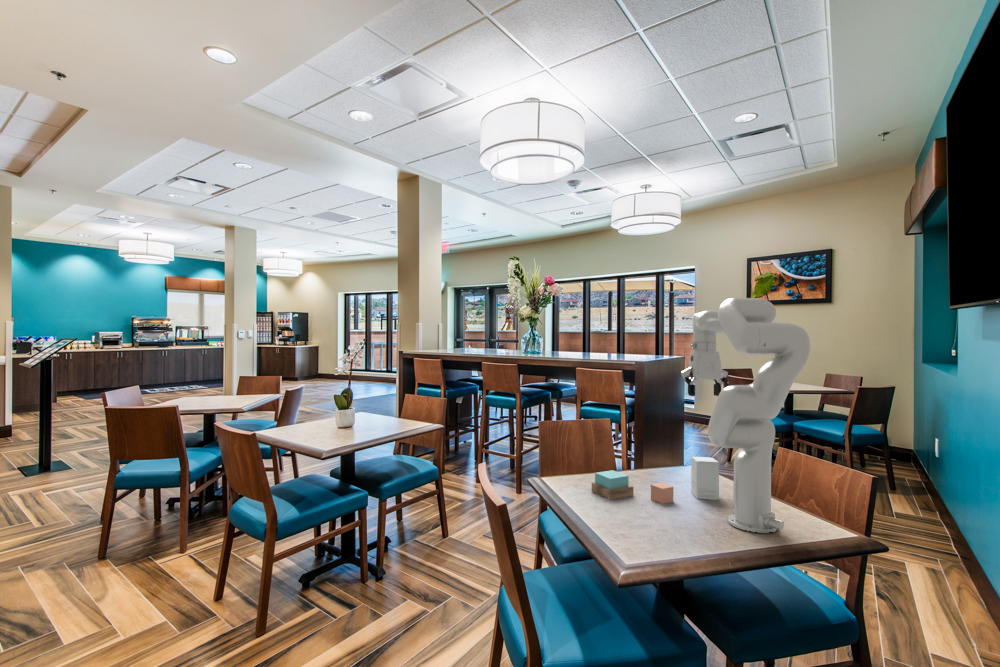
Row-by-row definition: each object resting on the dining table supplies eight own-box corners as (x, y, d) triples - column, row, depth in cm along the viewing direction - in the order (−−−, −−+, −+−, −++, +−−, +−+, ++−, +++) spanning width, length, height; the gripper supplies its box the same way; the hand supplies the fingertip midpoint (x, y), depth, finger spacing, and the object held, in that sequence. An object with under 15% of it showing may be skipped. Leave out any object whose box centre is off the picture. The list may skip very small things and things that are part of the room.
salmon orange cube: (673, 502, 154) (673, 486, 154) (662, 504, 152) (662, 488, 152) (661, 497, 158) (661, 482, 159) (650, 499, 156) (650, 484, 156)
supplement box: (719, 500, 156) (719, 462, 156) (696, 498, 157) (696, 461, 157) (713, 493, 163) (713, 457, 164) (690, 492, 164) (690, 456, 165)
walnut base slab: (633, 497, 160) (633, 486, 160) (610, 501, 155) (610, 490, 155) (613, 488, 169) (613, 479, 169) (591, 492, 164) (591, 482, 164)
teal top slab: (628, 486, 160) (628, 475, 161) (610, 489, 157) (610, 478, 157) (612, 480, 168) (612, 470, 168) (594, 482, 164) (595, 472, 164)
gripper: (687, 347, 161) (687, 397, 161) (733, 347, 164) (733, 396, 163) (676, 347, 169) (676, 394, 168) (720, 347, 171) (720, 394, 171)
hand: (704, 395), depth 166 cm, fingers open, 9 cm apart
